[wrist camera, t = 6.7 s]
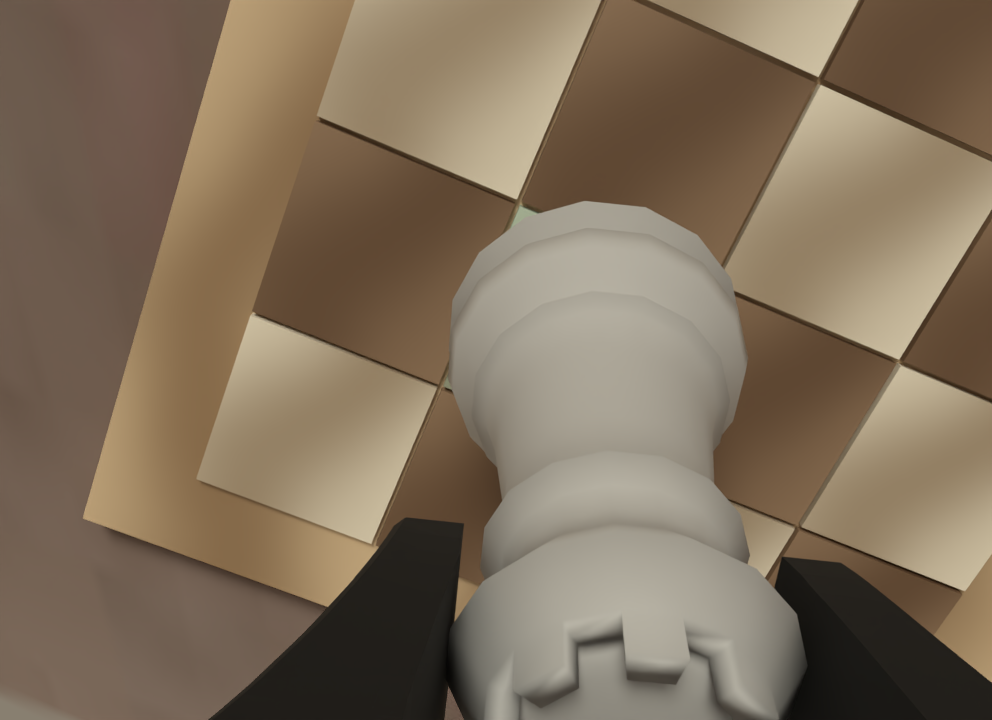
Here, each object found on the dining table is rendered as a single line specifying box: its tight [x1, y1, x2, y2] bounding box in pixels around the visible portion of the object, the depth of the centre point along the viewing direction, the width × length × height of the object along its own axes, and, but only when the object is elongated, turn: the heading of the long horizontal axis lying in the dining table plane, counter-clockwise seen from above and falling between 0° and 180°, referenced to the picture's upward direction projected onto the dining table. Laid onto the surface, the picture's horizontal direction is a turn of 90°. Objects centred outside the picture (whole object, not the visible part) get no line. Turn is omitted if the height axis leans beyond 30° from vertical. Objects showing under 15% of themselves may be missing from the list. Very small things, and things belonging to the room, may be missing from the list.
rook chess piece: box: [446, 201, 808, 720], centre depth 11 cm, size 4×4×8 cm
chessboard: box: [83, 0, 992, 682], centre depth 18 cm, size 20×20×1 cm
